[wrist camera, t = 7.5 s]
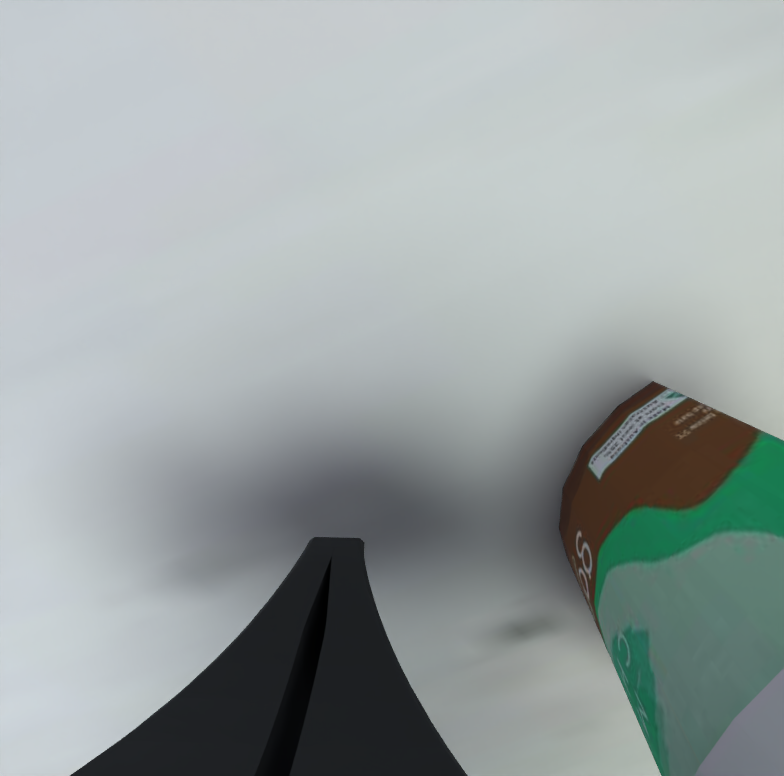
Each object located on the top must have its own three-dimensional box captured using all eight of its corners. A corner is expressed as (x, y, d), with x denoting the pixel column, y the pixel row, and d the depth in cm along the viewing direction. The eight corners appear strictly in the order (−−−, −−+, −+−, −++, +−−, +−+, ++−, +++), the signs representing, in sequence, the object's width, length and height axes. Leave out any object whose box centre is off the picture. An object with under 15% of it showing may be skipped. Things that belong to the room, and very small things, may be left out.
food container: (443, 456, 13) (572, 1005, 4) (630, 339, 12) (1494, 720, 3) (624, 692, 17) (932, 1299, 7) (784, 618, 15) (1411, 1231, 6)
